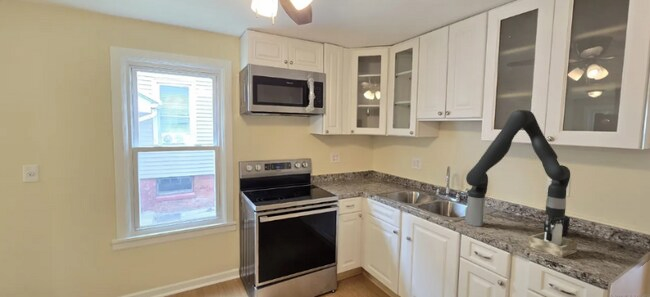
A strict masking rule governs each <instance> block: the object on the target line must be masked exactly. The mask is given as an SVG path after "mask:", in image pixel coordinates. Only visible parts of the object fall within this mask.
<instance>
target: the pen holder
mask: <svg viewBox="0 0 650 297" xmlns="http://www.w3.org/2000/svg"><path fill="white" fill-rule="evenodd" d="M548 217H549V216H548V215H547V218H548ZM563 218H564V225H563V229H562V237H567V235H568V233H569V225H570V217H569V216H567V215H565V217H563Z"/></svg>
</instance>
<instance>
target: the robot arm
mask: <svg viewBox="0 0 650 297" xmlns="http://www.w3.org/2000/svg"><path fill="white" fill-rule="evenodd" d="M521 129H523V130H524V132H525V133H526V134H527V135H528V137H529V140H530V143H531V146H532V150H533V151H534V153H535V155H537V157H538V159H539V161H540V162H541V163H542V167H543V170H544V172H545V174H546V175H547V177H548V178H550V179H551V183H550V184H549V185H548V187H547V195H546V200H545V211H544V213H545V215H547V219H544V220H543V232H547V233H546V240H548V241H552V233H553V230H554V229H555V226H556V224H558V223H562V226H563V225H564V218H563V217H565V216H566V209H567V208H566V206H567V199H566V198H567V189H568V186H569V183H570V179H571V170H570V169H569V168H568V167H567V166H566V165H562V164H560V163H559V161H558V154H557V153H556V152H555V150H554V149H553V147H552V146H551V144H550V143H549V141H548V140H547V137H546V136H545V135H544V133H543V131H542V129H541V127H540V125H539V123H538V121H537V119H536V116H535V115H534V113H533V112H532V111H530V110H527V109H518V110H515V111H513V112H512V113H511V114H510V116H508V118H507V120H506V122H505V124H504V126H503V127H502V129H501V131H499V133H498V134H497V135H496V136H495V138H494V140H493V141H492V142H491V143H490V145H489V146H488V148H487V149H486V150H485V151H484V152H483V155H481V157H480V159H479V160H478V161H477V163H476V164H475V165H474V166H473V167H472V168H471V170H469V171H468V173H467V174H466V177H465V178H466V179H465V180H466V183H467V184H468V185H469V186H472V187H470V189H469V190H468V192H467V203H466V204H467V205H466V207H465V211H464V212H465V213H464V223H466V224H467V225H469V226H472V227H483V226H484V220H485V219H484V218H485V217H484V216H485V203H486V202H485V201H486V200H485V199H486V194H487V191H488V187H489V185H488V184H489V177H488V174H487V172H488V171H489V170H490V169H492V168H493V167H494V166H496V165H497V164H498V163H499V162H500V161H502V160H503V158H504V157H505V156H507V153H509V151H510V148H511V147H512V143H513V140H514V138H515V136H516V135H517V134H518V133H519V132H520V130H521ZM548 216H549V217H548ZM554 223H555V224H554ZM551 225H554V226H553V227H551ZM562 229H563V228H562Z"/></svg>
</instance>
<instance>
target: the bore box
mask: <svg viewBox="0 0 650 297" xmlns="http://www.w3.org/2000/svg"><path fill="white" fill-rule="evenodd" d="M544 238H545V232H544V231H543V232H539V233H537V234H533V235H530V236H529V238H528V247H530V248H534V249H535V250H539V251H541V252H544V253H547V254H550V255H553V256H556V257H558V258H561V259H563V258H564V256H565V257H567V255H568V256H569V255H572V254H576V253H577V251H578V242H577V241H575V240H571V239H568V238H565V237H562V239H561V246H559V245H556V244H553V243H550V242H546V241H544ZM575 252H576V253H575Z"/></svg>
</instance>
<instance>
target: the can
mask: <svg viewBox="0 0 650 297" xmlns="http://www.w3.org/2000/svg"><path fill="white" fill-rule="evenodd" d="M554 224H555V223H554ZM553 226H554V225H551V227H553ZM562 228H563V226H562V223H558V224H556V226H555V229H554V230H553V233H552V241H548V240H546V233H547V232H545V238H544V241H546V242H550V243H553V244H556V245H559V246H561V239H562V238H563V236H562Z"/></svg>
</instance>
